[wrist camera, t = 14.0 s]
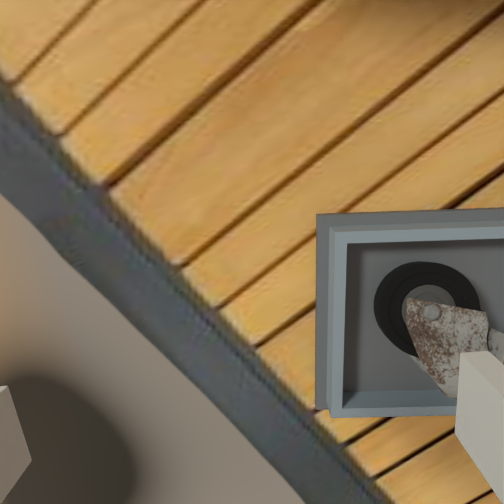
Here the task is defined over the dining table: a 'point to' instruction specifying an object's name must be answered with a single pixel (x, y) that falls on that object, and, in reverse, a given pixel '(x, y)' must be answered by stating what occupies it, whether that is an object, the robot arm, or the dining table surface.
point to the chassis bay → (362, 302)
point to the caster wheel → (434, 319)
